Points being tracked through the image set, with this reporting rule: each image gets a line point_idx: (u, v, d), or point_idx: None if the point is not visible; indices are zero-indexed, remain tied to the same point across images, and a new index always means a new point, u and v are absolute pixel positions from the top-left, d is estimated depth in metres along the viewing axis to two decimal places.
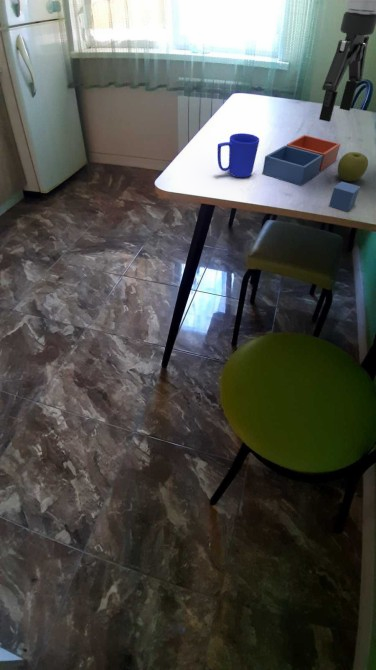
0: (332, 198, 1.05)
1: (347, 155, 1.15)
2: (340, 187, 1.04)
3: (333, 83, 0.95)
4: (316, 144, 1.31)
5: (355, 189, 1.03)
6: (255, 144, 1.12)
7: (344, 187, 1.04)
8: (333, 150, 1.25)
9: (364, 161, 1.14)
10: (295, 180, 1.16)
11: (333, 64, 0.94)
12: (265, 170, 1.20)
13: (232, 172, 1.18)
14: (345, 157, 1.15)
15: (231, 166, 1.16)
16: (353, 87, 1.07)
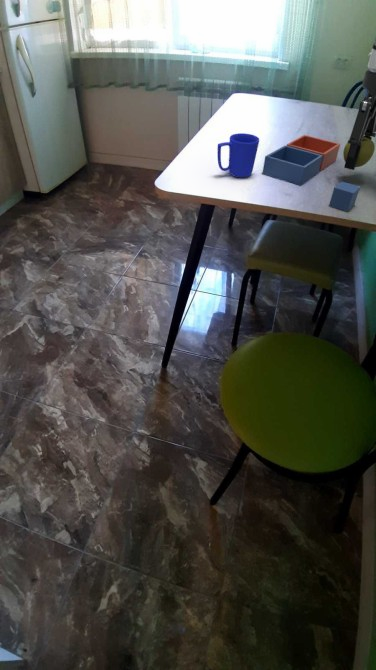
0: (332, 198, 1.05)
1: None
2: (340, 187, 1.04)
3: (358, 139, 1.06)
4: (316, 144, 1.31)
5: (355, 189, 1.03)
6: (255, 144, 1.12)
7: (344, 187, 1.04)
8: (333, 150, 1.25)
9: (370, 145, 1.11)
10: (295, 180, 1.16)
11: (356, 122, 1.05)
12: (265, 170, 1.20)
13: (232, 172, 1.18)
14: None
15: (231, 166, 1.16)
16: None
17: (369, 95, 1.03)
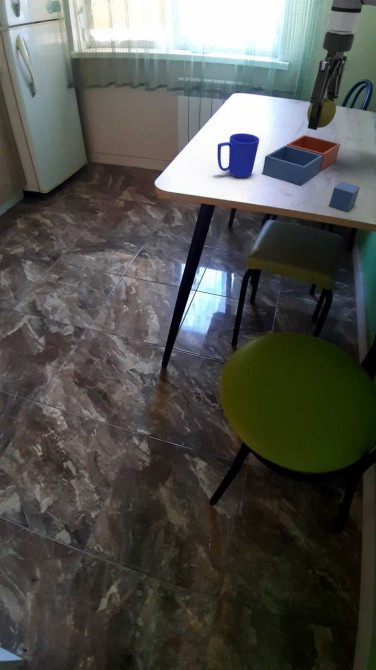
0: (332, 198, 1.05)
1: None
2: (340, 187, 1.04)
3: (318, 99, 1.12)
4: (316, 144, 1.31)
5: (355, 189, 1.03)
6: (255, 144, 1.12)
7: (344, 187, 1.04)
8: (333, 150, 1.25)
9: (331, 105, 1.17)
10: (295, 180, 1.16)
11: (317, 82, 1.11)
12: (265, 170, 1.20)
13: (232, 172, 1.18)
14: None
15: (231, 166, 1.16)
16: None
17: (328, 55, 1.09)
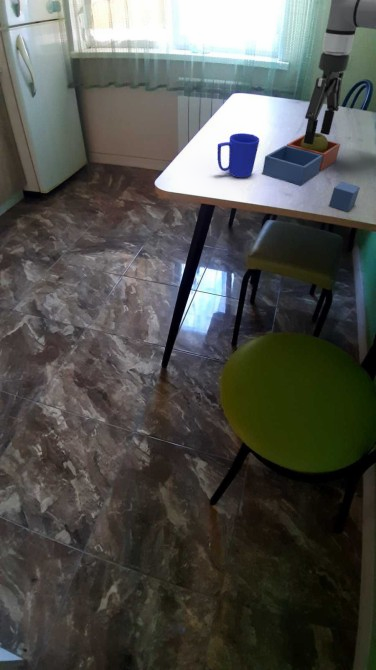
0: (332, 198, 1.05)
1: None
2: (340, 187, 1.04)
3: (313, 114, 1.13)
4: None
5: (355, 189, 1.03)
6: (255, 144, 1.12)
7: (344, 187, 1.04)
8: (333, 150, 1.25)
9: (323, 140, 1.23)
10: (295, 180, 1.16)
11: (313, 98, 1.13)
12: (265, 170, 1.20)
13: (232, 172, 1.18)
14: None
15: (231, 166, 1.16)
16: (331, 115, 1.25)
17: (324, 75, 1.12)
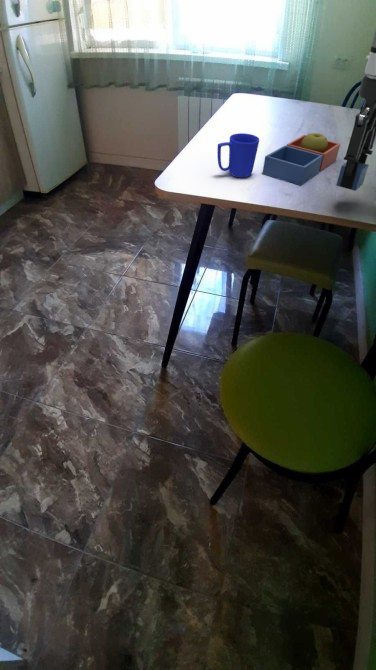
0: (339, 177, 1.01)
1: (308, 135, 1.25)
2: None
3: (355, 157, 0.93)
4: None
5: (364, 167, 0.99)
6: (255, 144, 1.12)
7: None
8: (333, 150, 1.25)
9: (323, 140, 1.23)
10: (295, 180, 1.16)
11: (352, 138, 0.92)
12: (265, 170, 1.20)
13: (232, 172, 1.18)
14: (306, 137, 1.25)
15: (231, 166, 1.16)
16: (363, 160, 1.01)
17: (366, 105, 0.89)
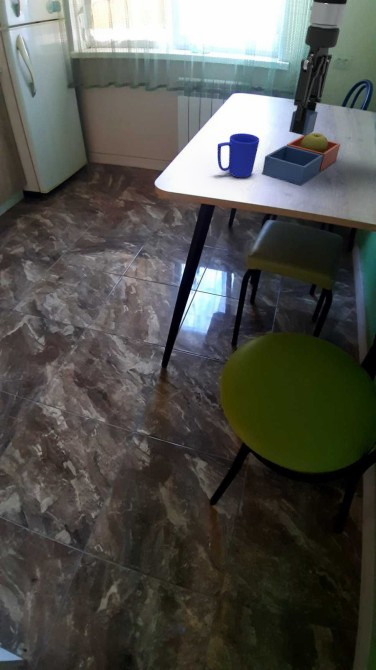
0: (291, 123, 1.11)
1: (308, 135, 1.25)
2: None
3: (302, 101, 1.03)
4: None
5: (313, 113, 1.09)
6: (255, 144, 1.12)
7: None
8: (333, 150, 1.25)
9: (323, 140, 1.23)
10: (295, 180, 1.16)
11: (299, 83, 1.01)
12: (265, 170, 1.20)
13: (232, 172, 1.18)
14: (306, 137, 1.25)
15: (231, 166, 1.16)
16: (313, 107, 1.10)
17: (311, 52, 0.98)
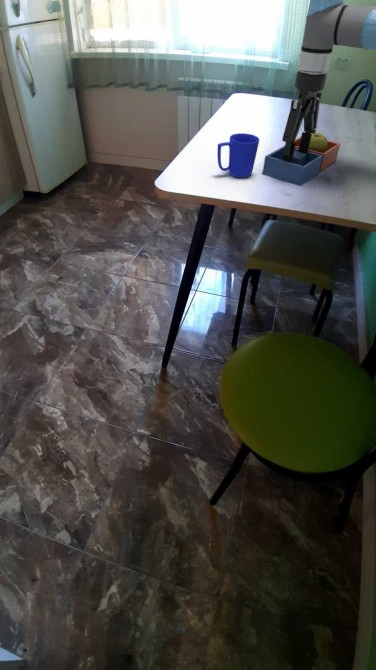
0: None
1: None
2: None
3: (290, 137, 1.08)
4: None
5: (301, 156, 1.17)
6: (255, 144, 1.12)
7: None
8: (333, 150, 1.25)
9: (323, 140, 1.23)
10: (295, 180, 1.16)
11: (289, 120, 1.07)
12: (265, 170, 1.20)
13: (232, 172, 1.18)
14: None
15: (231, 166, 1.16)
16: (308, 138, 1.18)
17: (300, 95, 1.05)
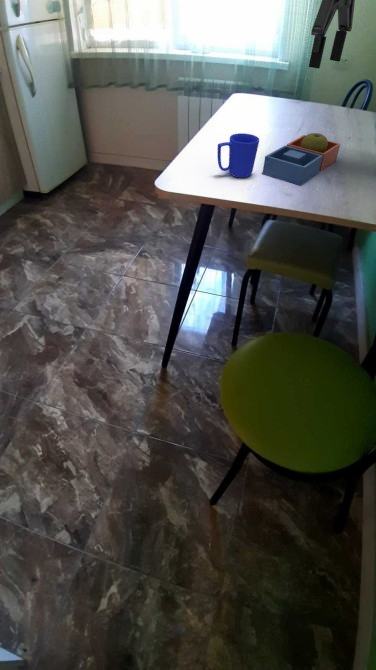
0: None
1: (308, 135, 1.25)
2: (288, 154, 1.18)
3: (321, 26, 0.96)
4: None
5: (301, 156, 1.17)
6: (255, 144, 1.12)
7: (292, 154, 1.18)
8: (333, 150, 1.25)
9: (323, 140, 1.23)
10: (295, 180, 1.16)
11: (321, 7, 0.95)
12: (265, 170, 1.20)
13: (232, 172, 1.18)
14: (306, 137, 1.25)
15: (231, 166, 1.16)
16: (343, 36, 1.08)
17: None
